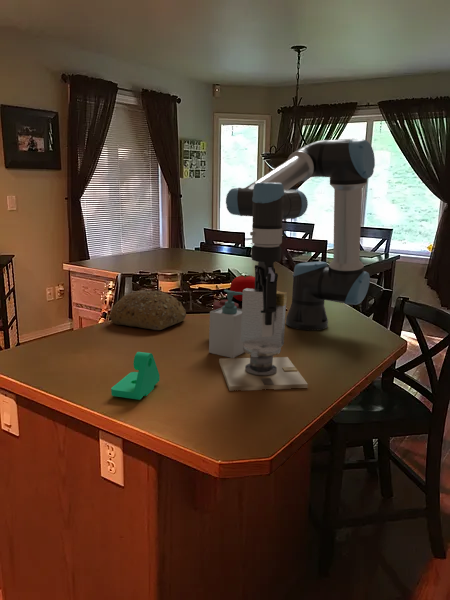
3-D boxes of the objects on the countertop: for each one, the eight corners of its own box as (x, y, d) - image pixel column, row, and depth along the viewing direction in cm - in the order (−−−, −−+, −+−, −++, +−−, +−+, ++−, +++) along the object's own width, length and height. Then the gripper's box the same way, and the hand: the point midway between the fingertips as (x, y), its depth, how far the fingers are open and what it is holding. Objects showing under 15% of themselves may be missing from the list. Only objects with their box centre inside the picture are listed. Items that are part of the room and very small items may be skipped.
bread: (103, 326, 177) (102, 292, 174) (136, 312, 196) (135, 282, 193) (164, 335, 168) (164, 300, 165) (192, 320, 187) (192, 288, 184)
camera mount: (131, 381, 129) (131, 342, 127) (159, 384, 128) (159, 346, 125) (109, 399, 118) (108, 358, 116) (140, 404, 116) (139, 362, 114)
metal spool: (272, 364, 140) (273, 345, 139) (279, 375, 132) (280, 356, 130) (242, 365, 139) (243, 346, 137) (248, 376, 131) (249, 356, 129)
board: (287, 360, 146) (287, 356, 146) (307, 388, 127) (307, 382, 127) (219, 362, 144) (219, 357, 143) (229, 390, 124) (229, 385, 124)
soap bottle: (233, 358, 147) (235, 295, 143) (208, 352, 152) (210, 291, 147) (248, 351, 154) (250, 290, 150) (223, 345, 159) (225, 286, 154)
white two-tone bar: (250, 340, 142) (252, 284, 138) (288, 345, 138) (291, 288, 134) (233, 354, 130) (235, 294, 126) (275, 360, 126) (278, 298, 122)
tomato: (261, 305, 213) (263, 277, 210) (229, 304, 213) (230, 276, 210) (260, 298, 225) (261, 272, 222) (229, 297, 225) (230, 271, 223)
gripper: (244, 240, 135) (242, 323, 141) (261, 250, 118) (258, 344, 123) (271, 240, 137) (268, 322, 142) (292, 249, 119) (288, 343, 125)
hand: (263, 332), depth 133 cm, fingers closed on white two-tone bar, 5 cm apart
